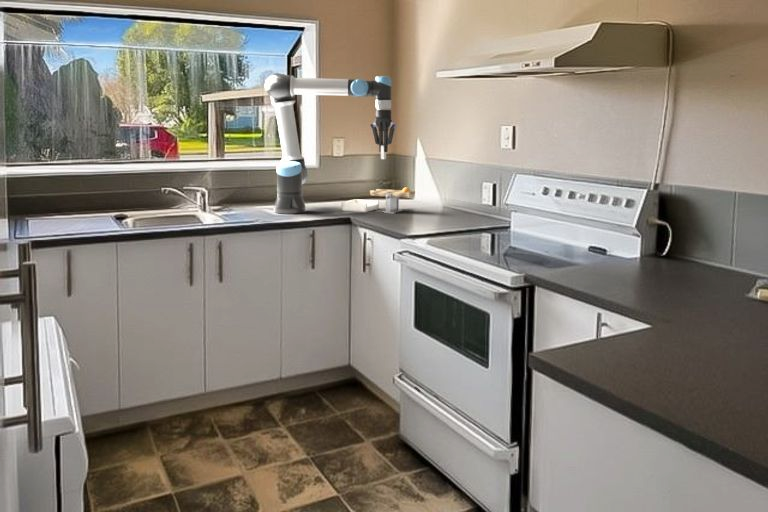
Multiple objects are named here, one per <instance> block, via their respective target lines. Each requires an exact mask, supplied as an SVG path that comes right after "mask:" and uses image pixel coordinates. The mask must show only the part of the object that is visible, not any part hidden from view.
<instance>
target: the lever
mask: <svg viewBox="0 0 768 512" xmlns="http://www.w3.org/2000/svg"><path fill="white" fill-rule="evenodd" d="M402 190H403V189H402ZM402 190H401V189H387V188H386V189H384V188H381V189H380V188H376V189H375V190H373V189H372V190H369V194H370V196H374V197H386V193H391V197H399V198H404V199H405V198H407V199H409V198H410V199H411V198H414V197H415V195H416V191H415V190H410V192H402Z"/></svg>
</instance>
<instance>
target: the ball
mask: <svg viewBox="0 0 768 512" xmlns="http://www.w3.org/2000/svg"><path fill="white" fill-rule="evenodd" d="M410 191H411V189H410V188H409V187H407V186H406V187H404V188H402V192H410Z"/></svg>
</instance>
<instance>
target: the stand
mask: <svg viewBox="0 0 768 512" xmlns="http://www.w3.org/2000/svg"><path fill="white" fill-rule="evenodd" d="M399 208H400V197H391V193H386V196H385V210H382V211H381V213H382V212H384V213H383V214H396V212H397V213H400V212H403V209H402V208H400V209H399Z"/></svg>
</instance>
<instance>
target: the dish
mask: <svg viewBox="0 0 768 512" xmlns="http://www.w3.org/2000/svg"><path fill="white" fill-rule="evenodd" d="M379 204H380V203H379V200H374V199H358V198H354V199H350V200H347V201H346V200H345V201H342V202H341V211H342V212H343V211H344V212H345V211H346V212H360V213H368V212H372V211H375V210H379Z"/></svg>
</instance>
